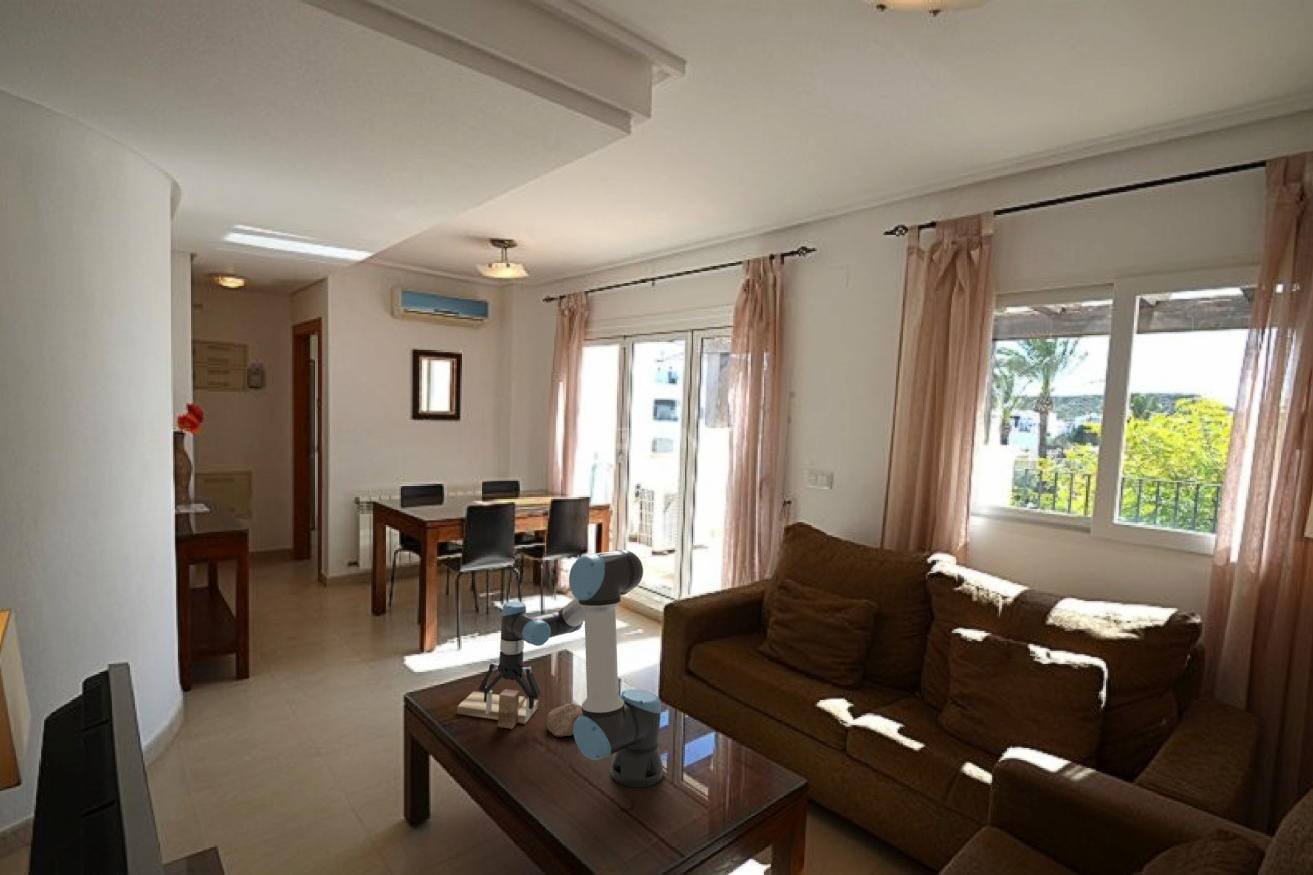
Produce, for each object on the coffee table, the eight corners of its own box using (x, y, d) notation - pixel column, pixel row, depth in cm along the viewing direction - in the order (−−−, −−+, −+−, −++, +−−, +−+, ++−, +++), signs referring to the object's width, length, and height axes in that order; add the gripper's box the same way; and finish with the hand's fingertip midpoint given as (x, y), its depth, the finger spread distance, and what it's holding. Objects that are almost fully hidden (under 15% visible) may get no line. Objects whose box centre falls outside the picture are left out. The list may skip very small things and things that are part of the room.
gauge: (511, 729, 202) (513, 697, 202) (497, 727, 203) (498, 695, 202) (528, 709, 216) (530, 678, 216) (514, 707, 217) (516, 677, 217)
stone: (587, 736, 206) (587, 703, 210) (583, 733, 197) (583, 699, 202) (549, 739, 205) (549, 706, 210) (544, 737, 197) (544, 702, 202)
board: (525, 723, 207) (525, 715, 207) (457, 713, 211) (457, 706, 211) (538, 707, 218) (538, 700, 218) (473, 698, 222) (473, 691, 222)
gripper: (552, 651, 206) (548, 714, 207) (480, 641, 210) (477, 704, 211) (544, 659, 198) (540, 725, 199) (470, 649, 203) (467, 714, 203)
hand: (508, 714), depth 205 cm, fingers open, 13 cm apart
